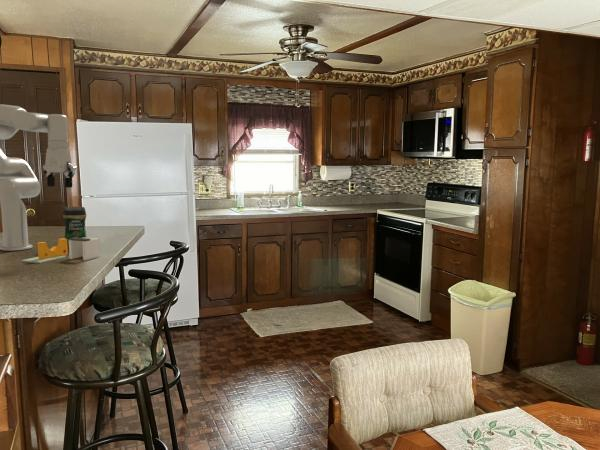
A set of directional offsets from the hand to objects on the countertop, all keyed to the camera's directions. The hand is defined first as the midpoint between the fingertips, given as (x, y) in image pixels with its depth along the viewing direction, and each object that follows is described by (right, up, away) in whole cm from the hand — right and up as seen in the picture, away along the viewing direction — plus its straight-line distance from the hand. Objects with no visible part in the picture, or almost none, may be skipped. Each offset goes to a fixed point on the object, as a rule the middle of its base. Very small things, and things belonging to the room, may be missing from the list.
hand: (59, 186), depth 207 cm
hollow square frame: (+12, -29, -5) cm, 32 cm away
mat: (-2, -30, -9) cm, 31 cm away
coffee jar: (-2, -26, +19) cm, 32 cm away
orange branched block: (-1, -29, -5) cm, 29 cm away
